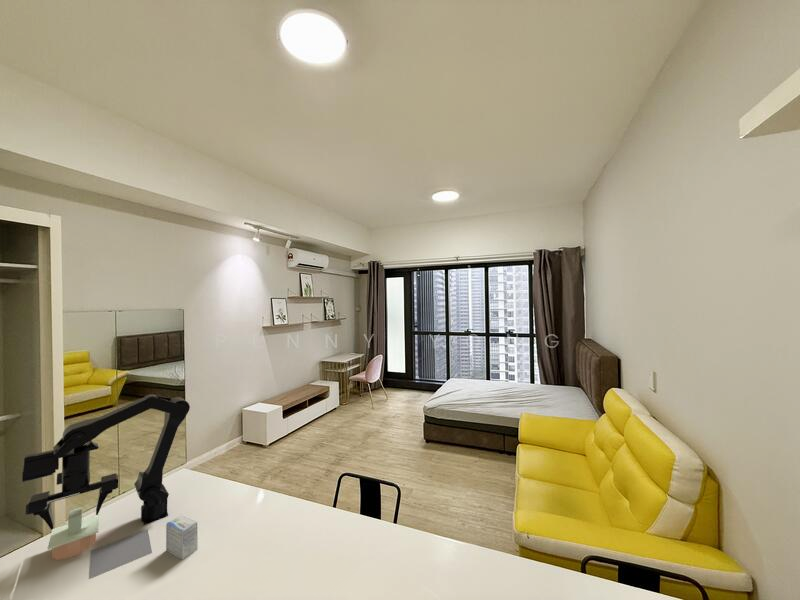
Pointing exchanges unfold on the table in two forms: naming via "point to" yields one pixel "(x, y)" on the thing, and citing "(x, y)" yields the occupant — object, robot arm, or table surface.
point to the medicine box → (181, 536)
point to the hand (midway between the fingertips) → (75, 521)
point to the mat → (119, 553)
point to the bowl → (73, 547)
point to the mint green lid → (74, 529)
